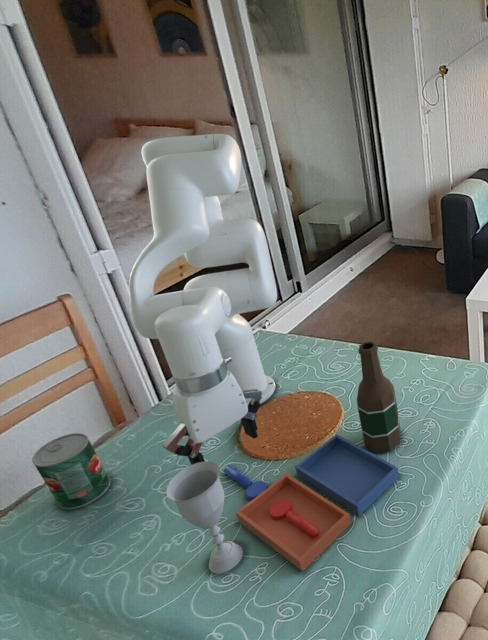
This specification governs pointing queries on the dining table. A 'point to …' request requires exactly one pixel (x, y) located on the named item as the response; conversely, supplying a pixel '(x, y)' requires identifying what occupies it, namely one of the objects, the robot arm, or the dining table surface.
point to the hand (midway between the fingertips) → (227, 451)
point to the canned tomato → (72, 470)
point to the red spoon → (291, 517)
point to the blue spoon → (246, 482)
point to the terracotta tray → (286, 534)
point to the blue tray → (347, 473)
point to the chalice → (205, 509)
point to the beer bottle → (377, 403)
